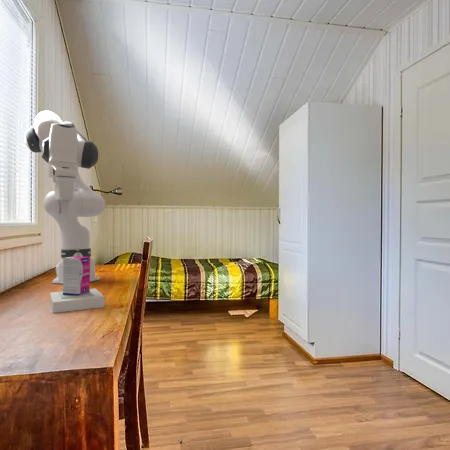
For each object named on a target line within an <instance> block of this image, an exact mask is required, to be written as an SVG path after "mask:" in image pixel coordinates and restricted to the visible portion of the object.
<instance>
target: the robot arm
mask: <svg viewBox="0 0 450 450" xmlns="http://www.w3.org/2000/svg"><path fill="white" fill-rule="evenodd" d="M29 127H30V128H28V129H26V131H25V132H24V137H23V138H24V139H23V140H24V144H25V145H26V147H27V148H28V149H29V150H30V151H31V152H33V153H36V154H37V153H41V158H42V159H43V160H44V161H45V162H46V163H47V164H48V177H49V178H52V183H54V186H55V187H54V190H53V191H50V192H48V193H47V194H46V195H45V197H44V200H43V207H44V210H45V212H47V214H48V215H50V216H51V217H52V218H53V219H54V220H55V221H56V223H57V224H58V226H59V228H60V233H61V249H60V251H61V252H60V258H61V259H60V261H59V262H58V263H57V265H56V266H55V273H56V274H55V275H56V277H55V278H54V279H53V280H52V284H62V285H63V258H66V257H74V256H79V257H90V283H91V282H95V281H99V280H100V277H99V276H96V263H95V260H94V259H93V258H91V257H92V249H91V233H90V230H89V229H88V228H87V227H86V226H84V225H82V224H81V223H80V221H79V219H78V217H79V218H91V217H98V216H100V215H102V214H103V212H104V211H105V207H106V202H105V199H104V197H103V196H102V195H101V194H100V193H98V192H95V191H94V190H93V189H92V188H90V187H89V186H88V185H87V184H86V183H85V182H84V180H83V179H82V176H81V175H80V173H79V168H83V169H87V170H89V169H91V168H93V167H94V166H95V165H96V164H97V163H98V161H99V150H98V147H97V145H96V144H95V143H94V141H92V140H88V139H87V138H86V137H84V135H82V133H80V132H79V130H78V128H77V127H76V125H75V124H74V123H73V122H71V121H63V120H62V118H60V116H58V115H57V114H56V113H54V111H53V112H52V111H50V110H43V111H40V112H39V113H37V115H36V116H35V118H34V123H33V126H32V125H31V126H29Z"/></svg>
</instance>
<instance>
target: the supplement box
mask: <svg viewBox="0 0 450 450" xmlns="http://www.w3.org/2000/svg"><path fill="white" fill-rule="evenodd" d="M90 287H91V282H90V257H79V256H74V257H66V258H63V284H62V291H63V295H74V296H78V295H81V294H85V293H89V292H90V289H91V288H90Z"/></svg>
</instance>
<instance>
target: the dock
mask: <svg viewBox="0 0 450 450" xmlns="http://www.w3.org/2000/svg"><path fill="white" fill-rule="evenodd" d="M49 303H50V308H51V310H52V313H53V314H57V313H65V312H72V311H81V310H89V309H90V310H91V309H100V308H105V296H104V295H103V294H102V293H101V292H100V291H99V290H98V289H97V288H90V292H89V293H85V294H81V295H78V296H74V295H63V290H62V291H53V292H49Z"/></svg>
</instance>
